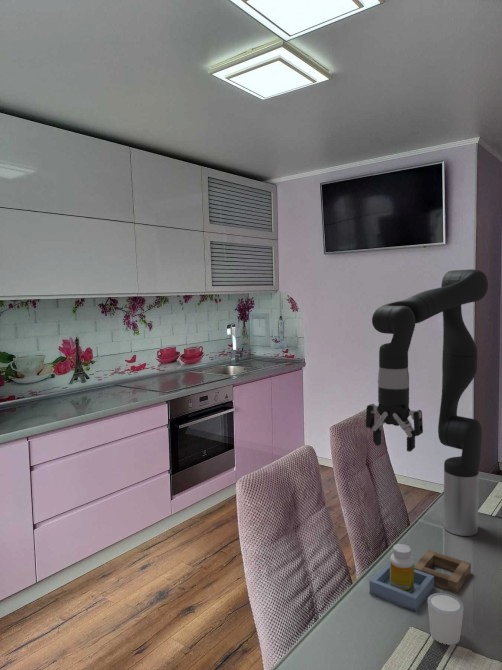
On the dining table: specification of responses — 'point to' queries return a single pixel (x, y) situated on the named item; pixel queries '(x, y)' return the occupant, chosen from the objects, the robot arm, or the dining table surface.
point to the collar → (440, 579)
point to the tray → (398, 596)
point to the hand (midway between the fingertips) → (393, 447)
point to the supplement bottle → (402, 568)
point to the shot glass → (445, 618)
